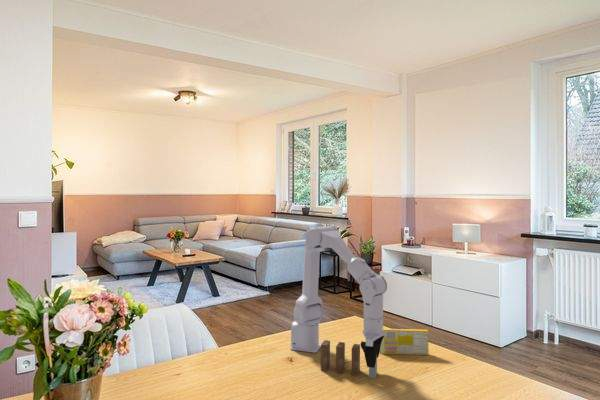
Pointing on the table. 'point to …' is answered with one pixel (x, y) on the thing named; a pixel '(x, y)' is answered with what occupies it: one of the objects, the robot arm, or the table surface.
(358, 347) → the domino
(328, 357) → the domino
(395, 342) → the candy box
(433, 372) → the table surface
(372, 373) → the domino
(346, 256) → the robot arm
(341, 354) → the domino
